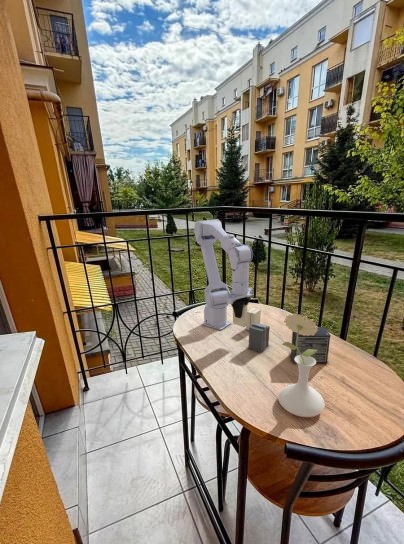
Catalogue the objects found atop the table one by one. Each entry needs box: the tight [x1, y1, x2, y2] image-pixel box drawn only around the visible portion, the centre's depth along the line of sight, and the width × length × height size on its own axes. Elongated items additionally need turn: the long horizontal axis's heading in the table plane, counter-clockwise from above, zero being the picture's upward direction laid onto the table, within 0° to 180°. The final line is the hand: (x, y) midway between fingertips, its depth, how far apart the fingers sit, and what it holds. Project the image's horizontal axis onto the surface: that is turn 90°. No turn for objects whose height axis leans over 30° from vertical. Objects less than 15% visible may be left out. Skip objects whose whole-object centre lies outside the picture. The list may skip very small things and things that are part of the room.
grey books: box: [248, 323, 270, 353], centre depth 100 cm, size 5×6×9 cm
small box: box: [290, 326, 331, 365], centre depth 92 cm, size 11×6×10 cm, turn 84°
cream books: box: [245, 307, 262, 331], centre depth 115 cm, size 4×5×8 cm
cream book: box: [232, 305, 248, 328], centre depth 103 cm, size 5×2×8 cm, turn 51°
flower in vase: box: [277, 313, 326, 418], centre depth 69 cm, size 13×11×25 cm
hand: (239, 316), depth 103 cm, fingers closed on cream book, 2 cm apart
